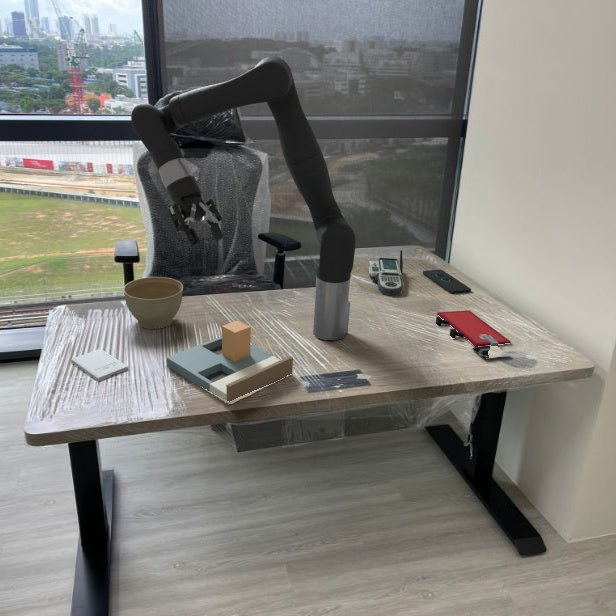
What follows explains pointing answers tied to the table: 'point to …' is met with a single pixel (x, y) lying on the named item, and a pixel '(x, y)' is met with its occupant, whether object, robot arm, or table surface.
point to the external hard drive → (99, 364)
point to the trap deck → (229, 369)
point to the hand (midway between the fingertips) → (208, 242)
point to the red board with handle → (472, 330)
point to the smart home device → (446, 281)
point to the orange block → (236, 340)
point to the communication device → (387, 275)
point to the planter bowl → (153, 300)
